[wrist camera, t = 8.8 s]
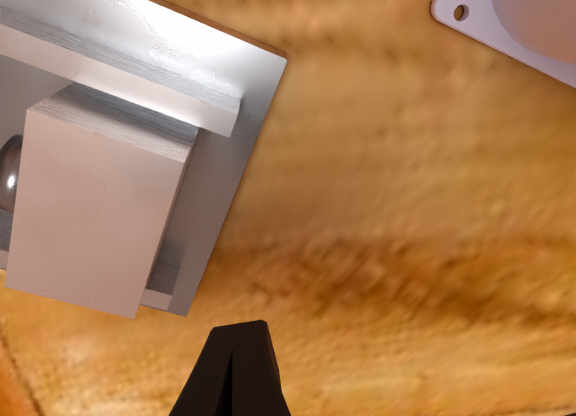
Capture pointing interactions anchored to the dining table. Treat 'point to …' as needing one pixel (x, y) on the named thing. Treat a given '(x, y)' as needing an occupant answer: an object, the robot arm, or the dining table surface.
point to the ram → (91, 197)
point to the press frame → (148, 104)
